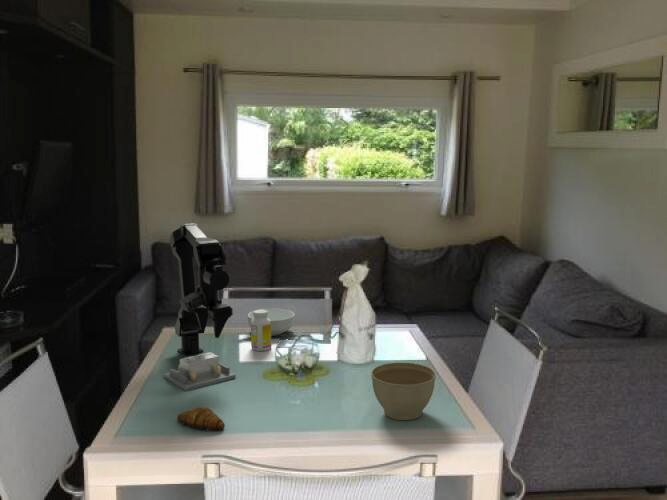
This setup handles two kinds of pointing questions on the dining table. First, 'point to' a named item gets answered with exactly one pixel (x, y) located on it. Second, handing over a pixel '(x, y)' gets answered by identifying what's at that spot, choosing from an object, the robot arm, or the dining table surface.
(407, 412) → the planter bowl
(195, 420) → the croissant
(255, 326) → the supplement bottle
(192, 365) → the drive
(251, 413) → the dining table surface
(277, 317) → the cereal bowl
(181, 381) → the tray
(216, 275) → the robot arm
